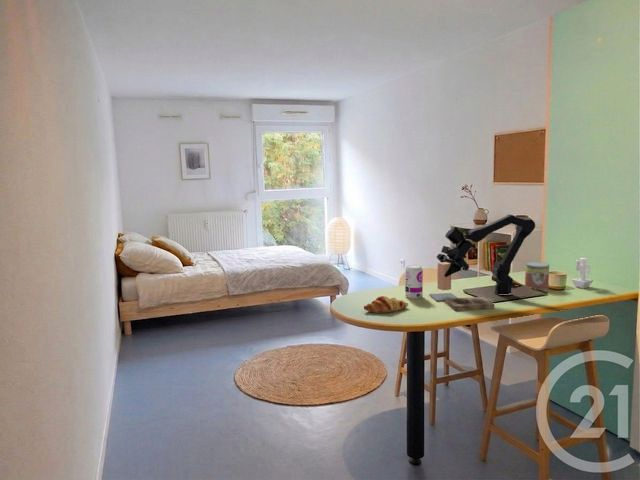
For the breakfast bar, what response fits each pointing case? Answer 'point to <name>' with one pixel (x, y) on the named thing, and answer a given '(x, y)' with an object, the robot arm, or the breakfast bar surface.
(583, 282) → the figurine
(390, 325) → the breakfast bar surface
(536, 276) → the canned food
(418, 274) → the supplement can
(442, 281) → the terracotta block
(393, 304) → the croissant
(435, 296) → the slate pad
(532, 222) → the robot arm
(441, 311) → the breakfast bar surface
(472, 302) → the puzzle board
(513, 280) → the sunglasses case
